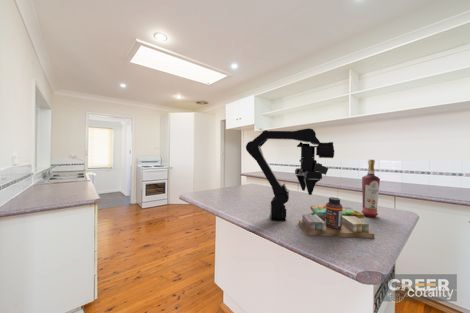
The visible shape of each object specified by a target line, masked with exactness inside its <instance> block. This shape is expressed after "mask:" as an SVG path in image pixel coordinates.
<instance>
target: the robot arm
mask: <svg viewBox="0 0 470 313" xmlns="http://www.w3.org/2000/svg"><path fill="white" fill-rule="evenodd" d="M268 140H293V141H298V142H299V143H298V144H297V145H296V147H297V148H300V159H299V163H300V168H299V167H297V168H296V169H294V174H295V177H296V178H297V181H298V183H299V186H300V188H301V191H304V192H305V190H306V191H307V194H308V195H310V196H311V195H312V194H313V191H314V188H315V186H316V184H317V183H318V182H319V181H321V180H322V179H323V175H325V176H326V175H327V172H328V170H329V167H327V166H324V165H323V164H322V163H319V162H317V159H316V158H315V156H318V159H334V157H335V147H334V142H333V141H329V142H321V141H320V140H319V139H318V138H317V135H316V131H315V130H314V129H313V128H304V129H303V128H302V129H298V130H263V131H262V132H261V133H260V134H259V135H258V136H256V137H254V139H253V140H251V141H248V142H247V143H246V145H245V149H246V152H247V153H248V154H249V156H251V157H252V158H253V160H255V161H256V163H257V164H258V167H259V168H260V169H261V171H262V173H263V174H264V176H265V177H266V180H267V181H268V183H269V184H270V186H271V189H272V192H273V195H274V197H272V199H271V201H270V211H269V212H270V214H269V217H270V220H271V221H282V222H283V221H285V222H286V221H287V208H286V205H285V204H287V203H288V202H289V199H290V190H289V189H288V187H287V186H286V183H283V184H282V183H281V182H280V181H279V180H278V178H277V176H276V175H275V173H274V172H273V170H272V168H271V166H270V165H269V162H267V160H266V158H265V156H264V153H263V150H262V146H264V144H265V143H266V142H267V141H268ZM310 144H312V145H310Z"/></svg>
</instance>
